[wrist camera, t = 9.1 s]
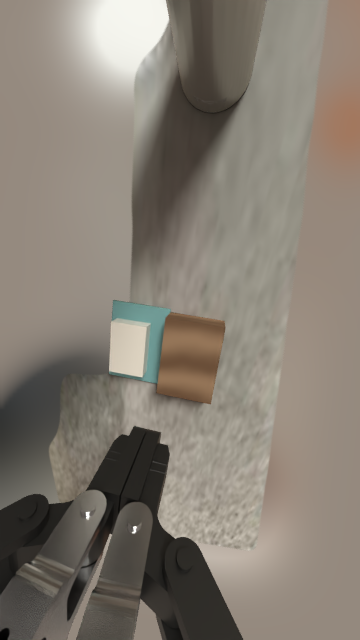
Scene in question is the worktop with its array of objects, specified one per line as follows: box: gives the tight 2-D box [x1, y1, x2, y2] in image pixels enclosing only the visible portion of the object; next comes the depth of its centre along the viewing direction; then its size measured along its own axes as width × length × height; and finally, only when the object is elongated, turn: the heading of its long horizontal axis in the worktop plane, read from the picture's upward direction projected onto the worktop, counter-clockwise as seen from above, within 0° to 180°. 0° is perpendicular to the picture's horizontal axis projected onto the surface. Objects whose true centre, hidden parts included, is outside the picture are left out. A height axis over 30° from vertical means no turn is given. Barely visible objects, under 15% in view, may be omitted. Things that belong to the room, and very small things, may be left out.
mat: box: [109, 300, 171, 384], centre depth 40 cm, size 14×10×1 cm
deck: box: [157, 312, 225, 404], centre depth 37 cm, size 13×9×4 cm
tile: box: [109, 318, 151, 377], centre depth 38 cm, size 9×6×2 cm, turn 173°
